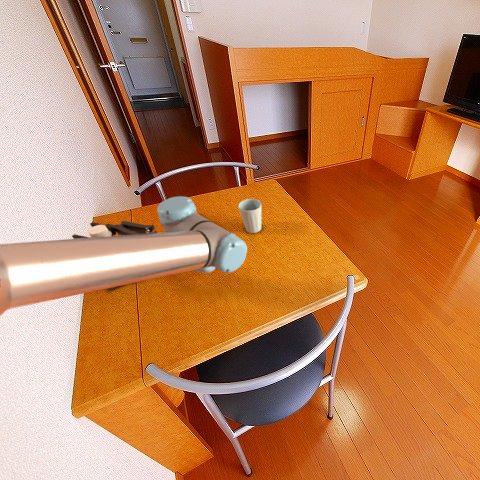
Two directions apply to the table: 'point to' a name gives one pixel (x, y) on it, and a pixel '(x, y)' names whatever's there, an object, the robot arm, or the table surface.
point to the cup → (251, 214)
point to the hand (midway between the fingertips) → (85, 232)
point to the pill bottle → (99, 231)
